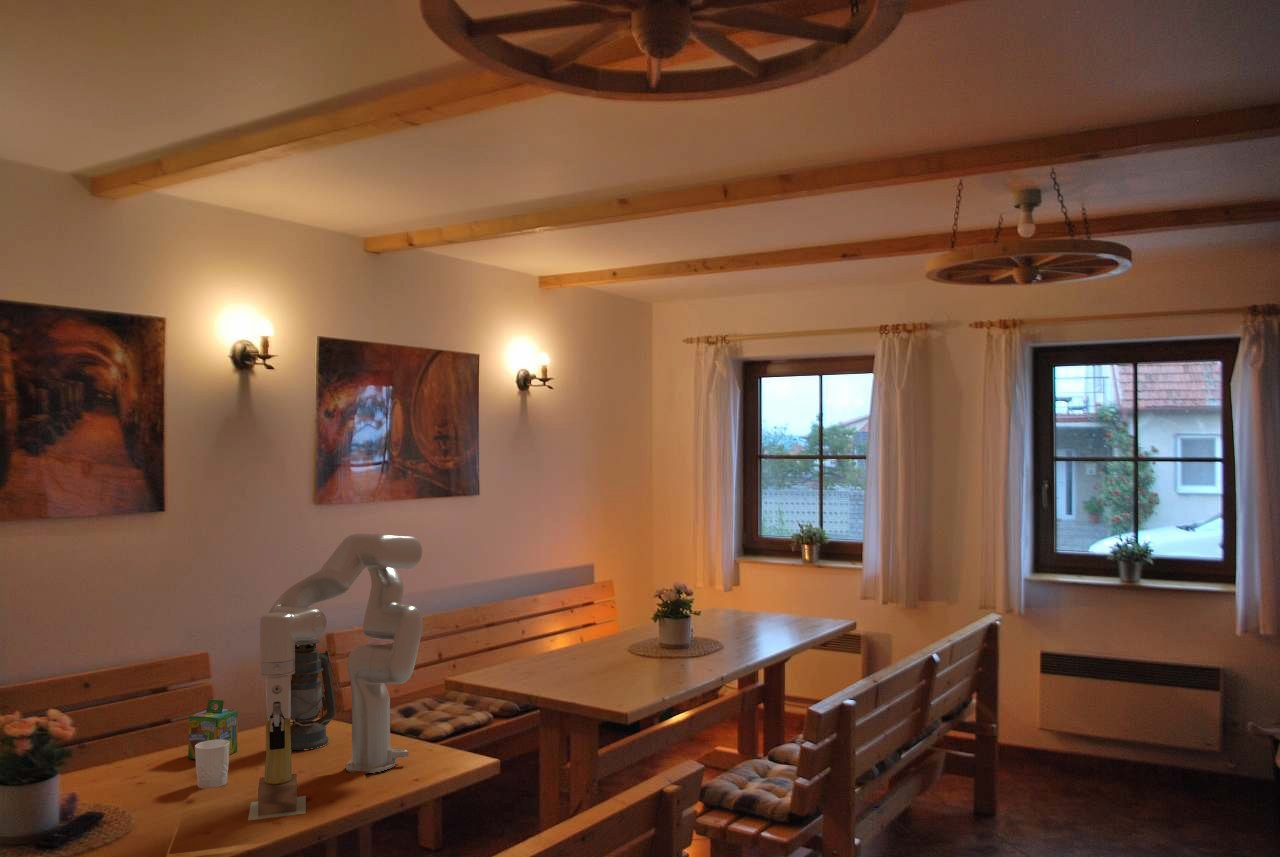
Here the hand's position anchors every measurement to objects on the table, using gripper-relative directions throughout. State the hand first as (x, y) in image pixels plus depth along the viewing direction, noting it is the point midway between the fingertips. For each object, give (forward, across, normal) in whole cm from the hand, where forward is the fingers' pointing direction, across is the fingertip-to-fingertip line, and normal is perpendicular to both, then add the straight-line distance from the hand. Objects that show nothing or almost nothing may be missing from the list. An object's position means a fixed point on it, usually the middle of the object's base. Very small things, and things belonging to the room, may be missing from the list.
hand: (277, 742), depth 224 cm
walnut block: (+15, 0, 0) cm, 15 cm away
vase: (+9, 0, 0) cm, 9 cm away
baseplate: (+16, 0, 0) cm, 16 cm away
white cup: (+16, +26, +16) cm, 34 cm away
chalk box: (+16, +52, +18) cm, 57 cm away
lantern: (+16, +53, -6) cm, 56 cm away
